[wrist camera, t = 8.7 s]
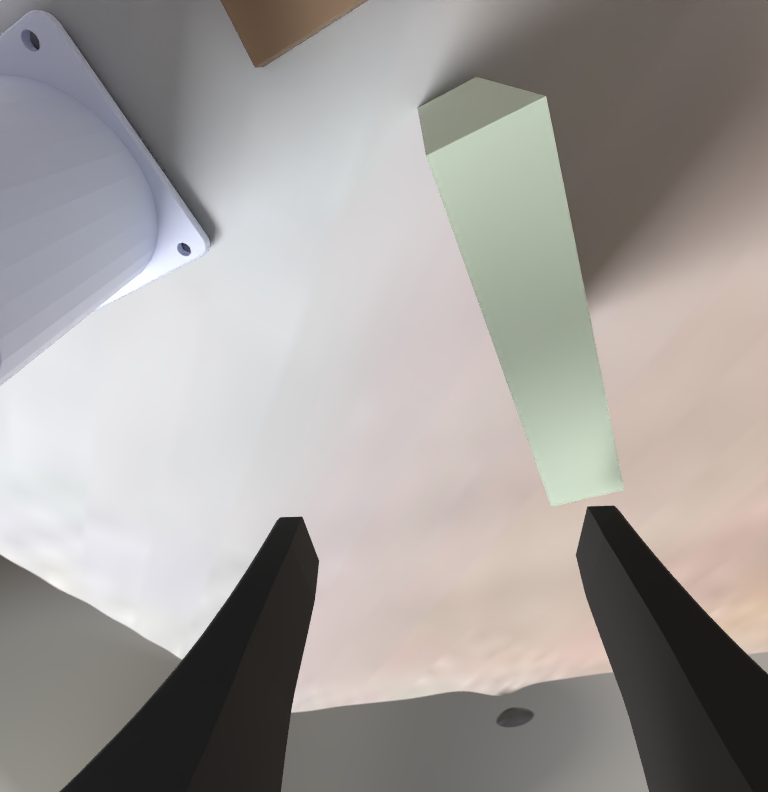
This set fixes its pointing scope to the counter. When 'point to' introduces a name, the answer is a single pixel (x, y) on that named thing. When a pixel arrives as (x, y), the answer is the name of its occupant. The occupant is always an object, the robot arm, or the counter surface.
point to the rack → (281, 23)
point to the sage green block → (526, 275)
